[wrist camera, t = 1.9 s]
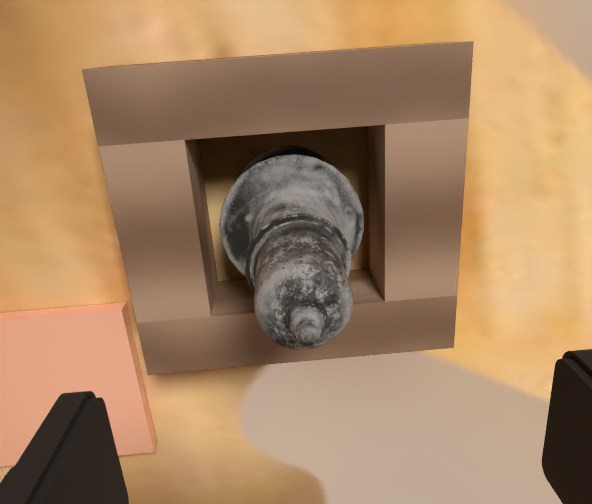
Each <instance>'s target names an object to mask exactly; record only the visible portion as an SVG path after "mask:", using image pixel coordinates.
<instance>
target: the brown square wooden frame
mask: <svg viewBox="0 0 592 504" xmlns="http://www.w3.org/2000/svg"><path fill="white" fill-rule="evenodd" d="M472 57H473V42H441V43H427V44H413V45H399V46H385V47H371V48H357V49H343V50H329V51H315V52H301V53H288V54H274V55H260V56H246V57H232V58H218V59H204V60H190V61H176V62H162V63H148V64H134V65H120V66H108V67H100V68H92V69H83V70H82V72H83V77H84V82H85V86H86V91H87V95H88V100H89V105H90V109H91V114H92V119H93V123H94V128H95V132H96V137H97V142H98V146H99V151H100V156H101V160H102V165H103V169H104V174H105V179H106V183H107V188H108V193H109V197H110V202H111V206H112V211H113V216H114V220H115V225H116V230H117V234H118V239H119V243H120V248H121V253H122V257H123V262H124V267H125V271H126V276H127V280H128V285H129V290H130V294H131V299H132V304H133V308H134V313H135V317H136V322H137V327H138V331H139V336H140V341H141V345H142V350H143V354H144V359H145V364H146V368H147V373H148V375H152V374H164V373H175V372H186V371H197V370H209V369H220V368H231V367H242V366H253V365H265V364H276V363H287V362H298V361H309V360H321V359H332V358H343V357H354V356H366V355H376V354H388V353H400V352H411V351H422V350H433V349H444V348H454V336H455V320H456V305H457V289H458V274H459V258H460V243H461V227H462V212H463V196H464V181H465V165H466V150H467V134H468V119H469V103H470V88H471V72H472ZM360 126H368V181H369V269H363V270H351V271H350V273H349V277H348V280H349V283H350V286H351V289H352V292H353V310H352V314H351V317H350V321H349V322H348V324H347V326H346V327H345V329H344V331H343V332H342V333H341V334H340V335H339V336H338V337H337V338H336V339H334V340H332V341H331V342H329V343H327V344H326V345H324V346H321V347H318V348H315V349H309V350H294V349H288V348H285V347H283V346H280V345H278V344H276V343H275V342H273V341H272V340H270V339H269V338H268V337H267V336H266V335H265V333H264V332H263V331H262V330H261V327H260V325H259V323H258V320H257V318H256V316H255V308H254V292H253V291H252V290H251V289H250V286H249V284H248V281H247V279H244V280H232V281H220V282H218V278H217V271H216V264H215V257H214V249H213V242H212V235H211V228H210V221H209V214H208V206H207V199H206V192H205V185H204V178H203V171H202V163H201V156H200V149H199V142H198V139H203V138H216V137H229V136H242V135H255V134H268V133H281V132H295V131H308V130H321V129H334V128H347V127H360Z"/></svg>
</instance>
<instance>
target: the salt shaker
mask: <svg viewBox="0 0 592 504" xmlns="http://www.w3.org/2000/svg"><path fill="white" fill-rule="evenodd" d="M219 226H220V233H221V240H222V244H223V246H224V248H225V251H226V253H227V255H228V257H229V259H230V260H231V262H232V263H233V264H234V265H235V267H236V268H237V269H238V270H239V271H240V273H242V274H243V275H245V276H246V279H247V281H248V284H249V286H250V289H251V290H252V291H253V292H254V308H255V316H256V318H257V320H258V323H259V325H260V327H261V330H262V331H263V332H264V333H265V335H266V336H267V337H268V338H269V339H270V340H272V341H273V342H275V343H276V344H278V345H280V346H283V347H285V348H288V349H294V350H309V349H315V348H318V347H321V346H324V345H326V344H327V343H329V342H331V341H332V340H334V339H336V338H337V337H338V336H339V335H340V334H341V333H342V332H343V331H344V329H345V327H346V326H347V324H348V322H349V321H350V317H351V314H352V310H353V292H352V289H351V286H350V283H349V280H348V277H349V273H350V269H351V261H352V259H353V257H354V256H355V254H356V252H357V250H358V248H359V247H360V243H361V239H362V235H363V231H364V216H363V209H362V206H361V202H360V199H359V196H358V194H357V192H356V191H355V189H354V188H353V186H352V185H351V183H350V181H349V180H348V178H346V177H345V176H344V175H343V174H342V173H341V172H340V171H338V170H337V169H336V168H335V167H334V166H332V165H331V164H330V163H329V162H328V161H326V160H325V159H324V158H323V157H322V156H321V155H319V154H317V153H315V152H313V151H311V150H309V149H307V148H301V147H296V146H283V147H275V148H272V149H270V150H267V151H264V152H262V153H260V154H259V155H257V156H256V157H255V158H253V159H252V160H250V161H249V162H248V164H247V165H246V166H245V167H244V168H243V170H242V171H241V172H240V174H239V176H238V178H237V180H236V182H235V183H234V184H233V185H232V186H231V188H230V189H229V191H228V193H227V196H226V198H225V200H224V203H223V205H222V209H221V216H220V223H219Z"/></svg>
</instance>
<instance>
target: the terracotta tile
mask: <svg viewBox="0 0 592 504" xmlns="http://www.w3.org/2000/svg"><path fill="white" fill-rule="evenodd" d="M83 391H92V392H93V393H94V394H95V396H96V398H98V397H101V398H103V400H104V402H105V405H106V409H107V413H108V417H109V421H110V425H111V429H112V433H113V437H114V441H115V445H116V449H117V453H118V456H120V455H131V454H141V453H152V452H154V450H155V446H156V443H157V441H156V436H155V431H154V427H153V422H152V418H151V413H150V409H149V404H148V400H147V395H146V391H145V386H144V382H143V377H142V373H141V368H140V364H139V359H138V355H137V350H136V346H135V341H134V337H133V332H132V328H131V323H130V319H129V314H128V310H127V305H126V302H122V303H110V304H98V305H86V306H75V307H63V308H51V309H39V310H27V311H16V312H4V313H0V467H2V466H13V465H16V463H17V462H18V460H19V458H20V457H21V455H22V454H23V452H24V451H25V449H26V447H27V446H28V444H29V443H30V441H31V440H32V438H33V436H34V435H35V433H36V432H37V430H38V429H39V427H40V425H41V424H42V422H43V421H44V419H45V418H46V416H47V414H48V413H49V411H50V410H51V408H52V407H53V405H54V403H55V402H56V400H57V399H58V397H59V396H60V395H61V394H63V393H71V392H83Z"/></svg>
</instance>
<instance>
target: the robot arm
mask: <svg viewBox="0 0 592 504" xmlns="http://www.w3.org/2000/svg"><path fill="white" fill-rule="evenodd" d="M542 467H543V471H544V474H545V477H546V478H547V480H548V482H549V483H550V485H551V486H552V488H553V489H554V491H555V492H556V494H557V495H558V497H559V498H560V500H561V502H562V503H563V504H592V349H589V350H577V351H568V352H566V353H565V354H564V355H563V358H562V359H559V360H557V362H556V364H555V370H554V377H553V384H552V391H551V398H550V405H549V413H548V420H547V427H546V434H545V441H544V448H543V455H542ZM0 504H129V501H128V494H127V490H126V486H125V482H124V478H123V474H122V470H121V466H120V461H119V457H118V453H117V449H116V445H115V441H114V437H113V433H112V429H111V425H110V421H109V417H108V413H107V409H106V405H105V402H104V400H103V398H101V397H98V398H96V396H95V394H94V393H93V392H92V391H83V392H71V393H63V394H61V395H60V396H59V397H58V399H57V400H56V402H55V403H54V405H53V407H52V408H51V410H50V411H49V413H48V414H47V416H46V418H45V419H44V421H43V422H42V424H41V425H40V427H39V429H38V430H37V432H36V433H35V435H34V436H33V438H32V440H31V441H30V443H29V444H28V446H27V447H26V449H25V451H24V452H23V454H22V455H21V457H20V458H19V460H18V462H17V463H16V465H15V466H14V467H13V468H11V469H10V471H9V472H8V473H7V474H6V475H5V477H4V479H3V480H2V482H1V483H0Z"/></svg>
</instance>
